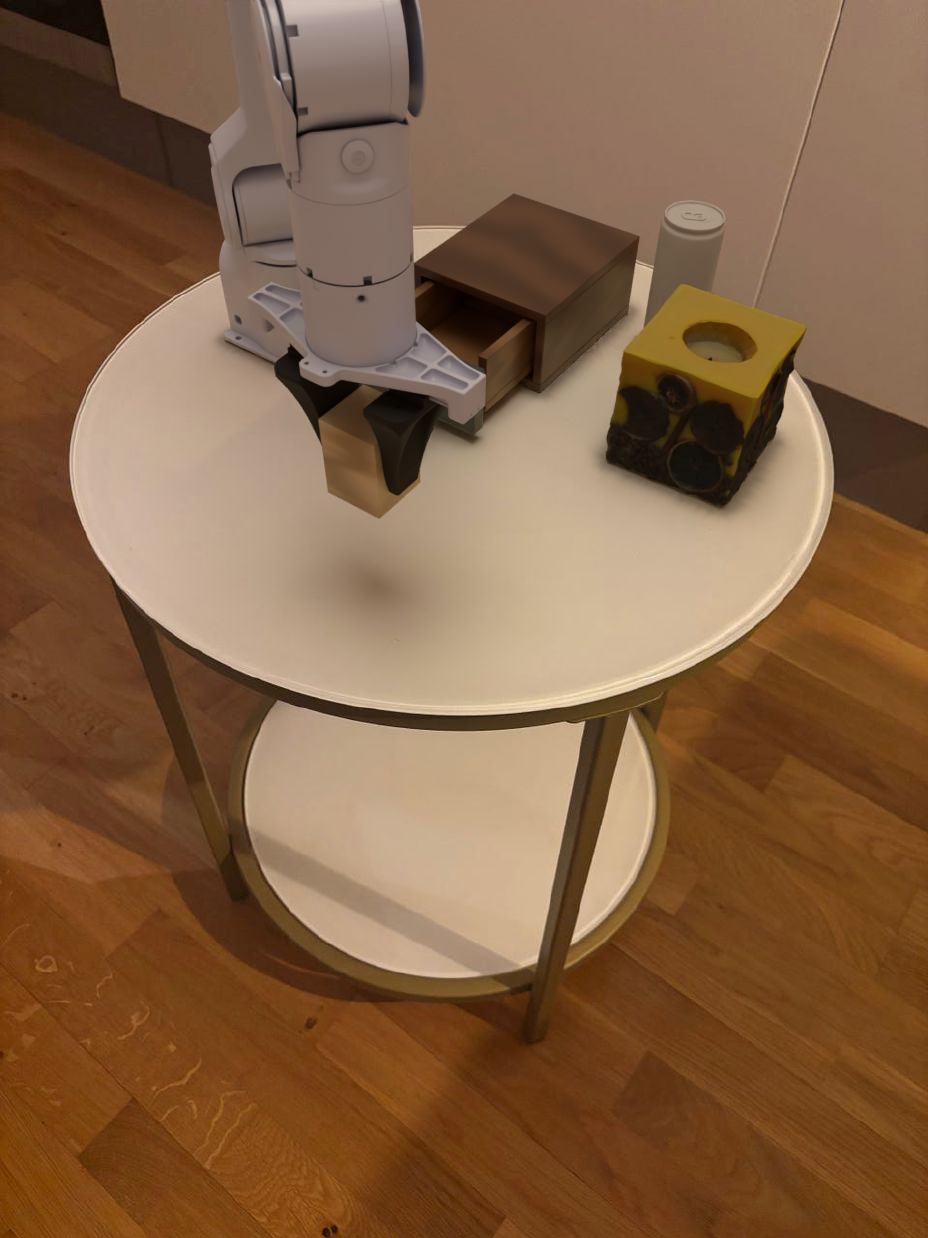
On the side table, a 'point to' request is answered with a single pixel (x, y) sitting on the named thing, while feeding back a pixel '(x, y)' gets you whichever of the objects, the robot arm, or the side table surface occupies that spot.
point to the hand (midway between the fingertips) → (372, 469)
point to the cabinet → (541, 275)
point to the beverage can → (685, 251)
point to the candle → (702, 393)
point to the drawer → (477, 340)
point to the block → (356, 456)
